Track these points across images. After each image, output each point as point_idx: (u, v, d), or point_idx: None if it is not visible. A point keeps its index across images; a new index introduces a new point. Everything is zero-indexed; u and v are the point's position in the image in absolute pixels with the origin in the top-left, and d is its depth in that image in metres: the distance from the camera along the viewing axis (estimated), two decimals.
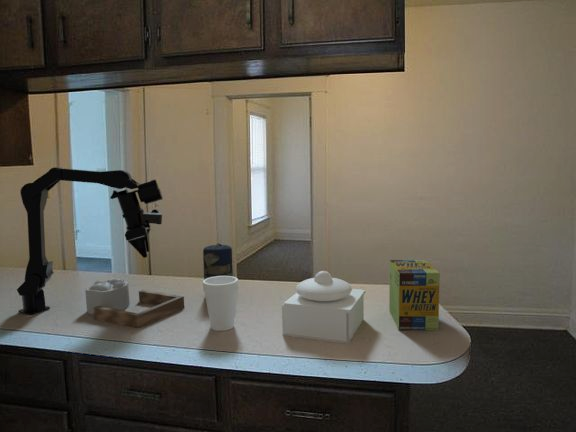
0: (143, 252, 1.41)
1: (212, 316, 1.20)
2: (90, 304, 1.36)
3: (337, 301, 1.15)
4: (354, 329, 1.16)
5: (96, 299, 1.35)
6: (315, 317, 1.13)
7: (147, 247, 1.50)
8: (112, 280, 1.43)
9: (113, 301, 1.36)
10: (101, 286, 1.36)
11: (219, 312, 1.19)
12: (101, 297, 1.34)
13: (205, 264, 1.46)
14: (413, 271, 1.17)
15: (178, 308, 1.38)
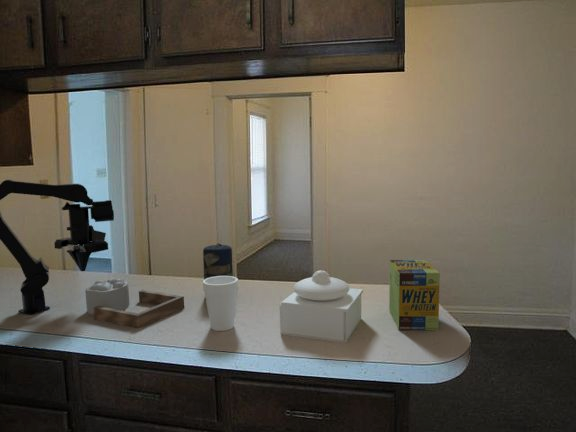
0: (84, 265, 1.45)
1: (212, 316, 1.20)
2: (90, 304, 1.36)
3: (334, 300, 1.16)
4: (351, 328, 1.17)
5: (96, 299, 1.35)
6: (313, 316, 1.13)
7: None
8: (112, 280, 1.43)
9: (113, 301, 1.36)
10: (101, 286, 1.36)
11: (219, 312, 1.19)
12: (101, 297, 1.34)
13: (205, 264, 1.46)
14: (413, 271, 1.17)
15: (178, 308, 1.38)
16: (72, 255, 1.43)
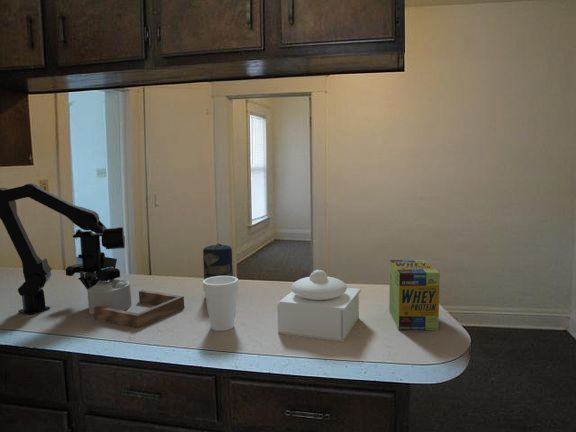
0: None
1: (212, 316, 1.20)
2: (92, 304, 1.36)
3: (332, 300, 1.17)
4: (349, 327, 1.17)
5: (98, 299, 1.35)
6: (310, 315, 1.14)
7: None
8: (114, 280, 1.43)
9: (115, 301, 1.36)
10: (103, 286, 1.36)
11: (219, 312, 1.19)
12: (103, 297, 1.34)
13: (205, 264, 1.46)
14: (413, 271, 1.17)
15: (178, 308, 1.38)
16: (84, 283, 1.42)
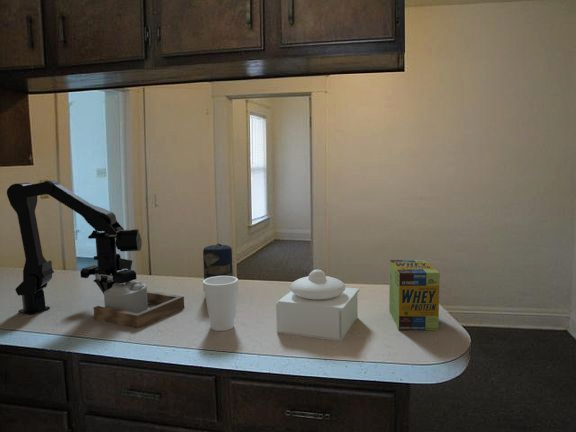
0: None
1: (212, 316, 1.20)
2: (109, 307, 1.32)
3: (330, 299, 1.17)
4: (347, 327, 1.18)
5: (115, 302, 1.32)
6: (309, 315, 1.14)
7: None
8: (130, 282, 1.39)
9: (133, 304, 1.32)
10: (120, 289, 1.33)
11: (219, 312, 1.19)
12: (121, 300, 1.31)
13: (205, 264, 1.46)
14: (413, 271, 1.17)
15: (178, 308, 1.38)
16: (99, 285, 1.39)
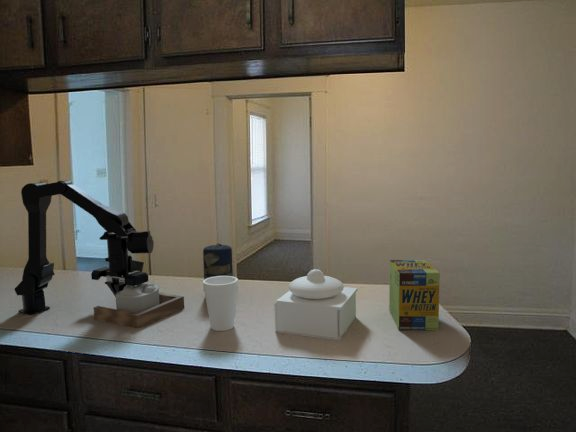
0: None
1: (212, 316, 1.20)
2: None
3: (329, 299, 1.18)
4: (345, 326, 1.18)
5: (127, 304, 1.29)
6: (307, 314, 1.15)
7: None
8: (142, 284, 1.37)
9: (145, 307, 1.30)
10: (132, 291, 1.30)
11: (219, 312, 1.19)
12: (133, 302, 1.28)
13: (205, 264, 1.46)
14: (413, 271, 1.17)
15: (178, 308, 1.38)
16: (111, 287, 1.37)
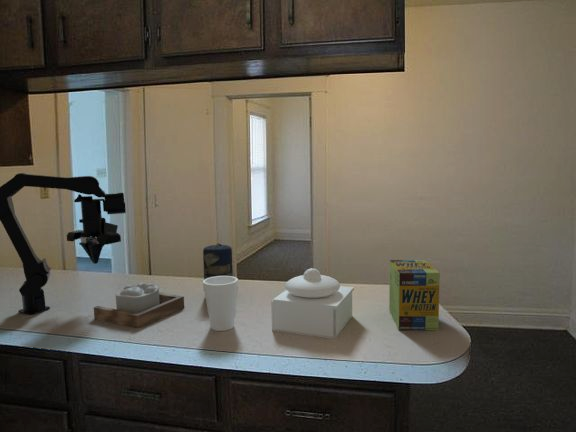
0: (97, 258, 1.45)
1: (212, 316, 1.20)
2: None
3: (325, 298, 1.19)
4: (342, 325, 1.19)
5: (127, 305, 1.29)
6: (303, 313, 1.16)
7: None
8: (142, 285, 1.37)
9: (145, 307, 1.30)
10: (132, 291, 1.30)
11: (219, 312, 1.19)
12: (133, 303, 1.28)
13: (205, 264, 1.46)
14: (413, 271, 1.17)
15: (178, 308, 1.38)
16: (85, 247, 1.43)
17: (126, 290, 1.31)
